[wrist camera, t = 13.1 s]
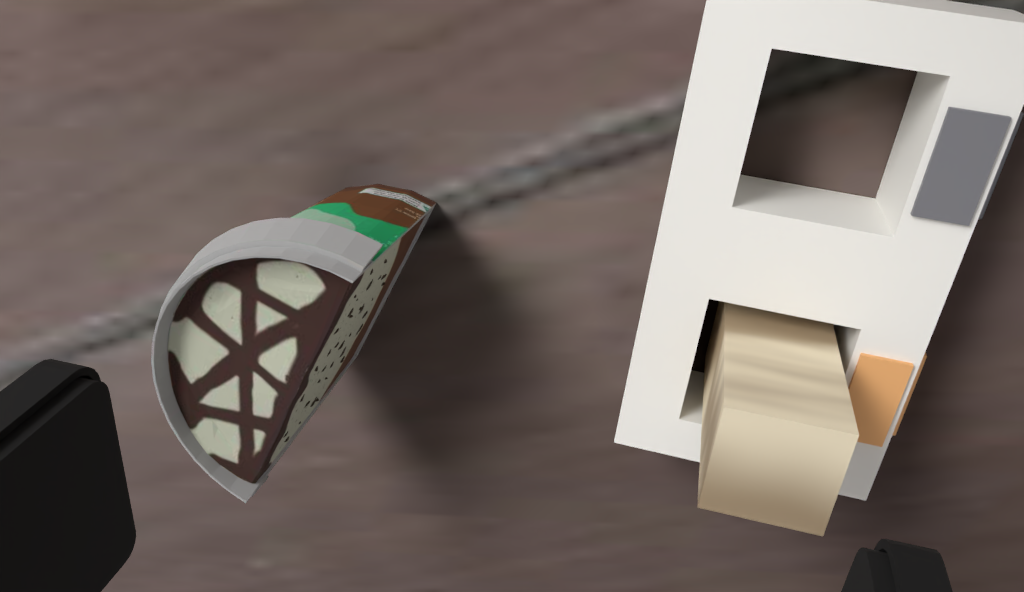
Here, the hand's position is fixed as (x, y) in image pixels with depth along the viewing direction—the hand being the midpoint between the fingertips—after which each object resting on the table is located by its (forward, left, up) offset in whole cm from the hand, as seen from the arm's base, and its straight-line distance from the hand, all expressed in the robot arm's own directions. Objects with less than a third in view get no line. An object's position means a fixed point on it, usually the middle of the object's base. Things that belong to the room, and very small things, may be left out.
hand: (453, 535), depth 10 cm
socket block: (+4, +7, -25) cm, 26 cm away
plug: (+9, +7, -25) cm, 27 cm away
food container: (+9, -12, -25) cm, 29 cm away
